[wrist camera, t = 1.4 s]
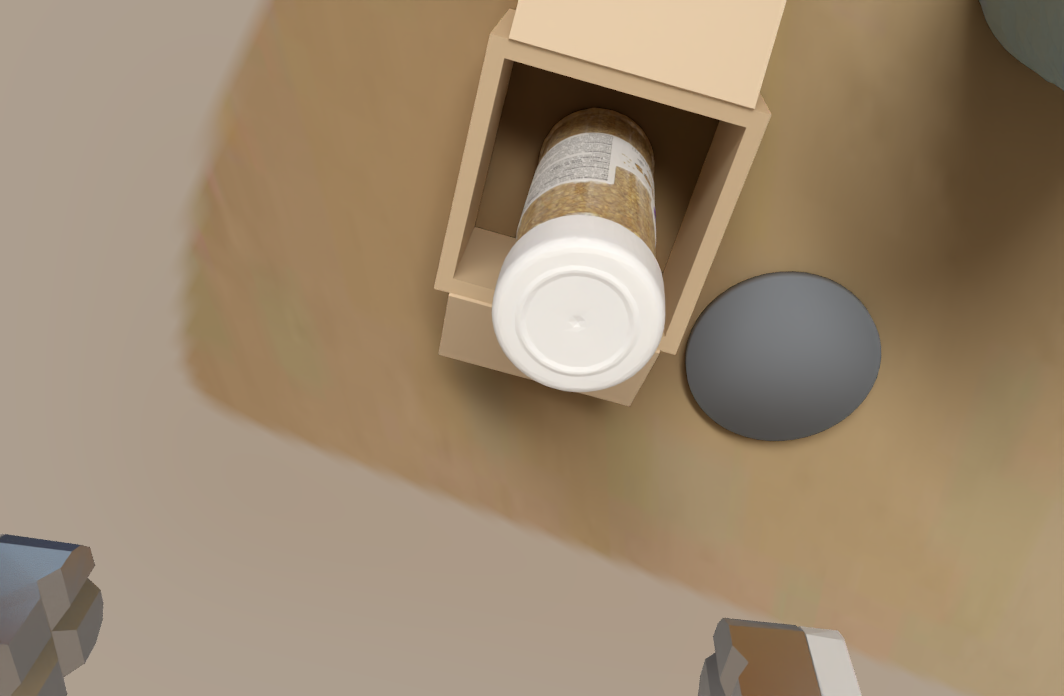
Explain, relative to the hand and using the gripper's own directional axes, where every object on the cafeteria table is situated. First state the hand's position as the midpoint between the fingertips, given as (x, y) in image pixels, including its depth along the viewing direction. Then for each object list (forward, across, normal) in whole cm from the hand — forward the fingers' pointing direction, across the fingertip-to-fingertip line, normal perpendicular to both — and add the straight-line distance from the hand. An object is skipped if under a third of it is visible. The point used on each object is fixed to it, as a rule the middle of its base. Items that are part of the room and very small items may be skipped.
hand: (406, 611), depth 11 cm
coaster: (+24, +12, -10) cm, 29 cm away
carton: (+25, +3, -3) cm, 25 cm away
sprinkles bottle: (+25, +3, -3) cm, 26 cm away
